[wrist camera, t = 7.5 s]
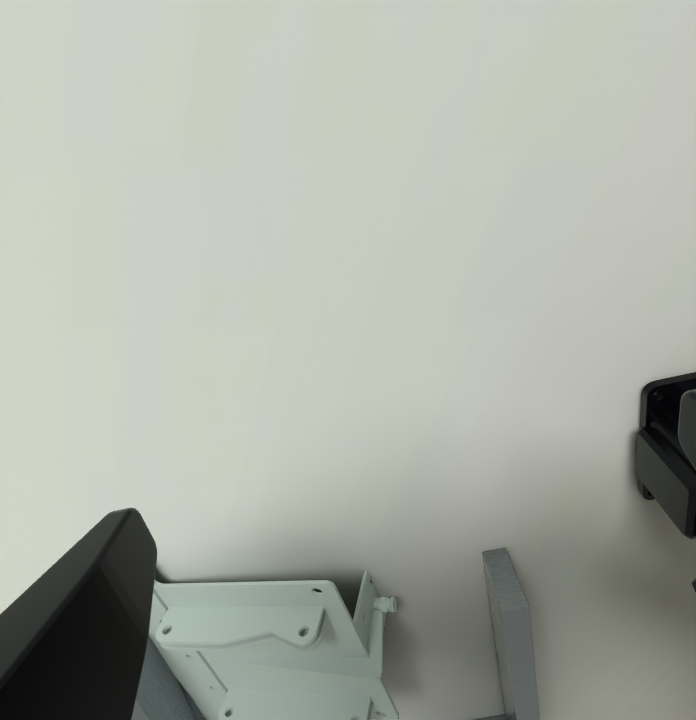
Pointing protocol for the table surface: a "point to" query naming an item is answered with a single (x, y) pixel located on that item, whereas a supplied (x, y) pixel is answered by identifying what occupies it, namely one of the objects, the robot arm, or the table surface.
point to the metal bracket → (275, 649)
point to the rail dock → (512, 638)
